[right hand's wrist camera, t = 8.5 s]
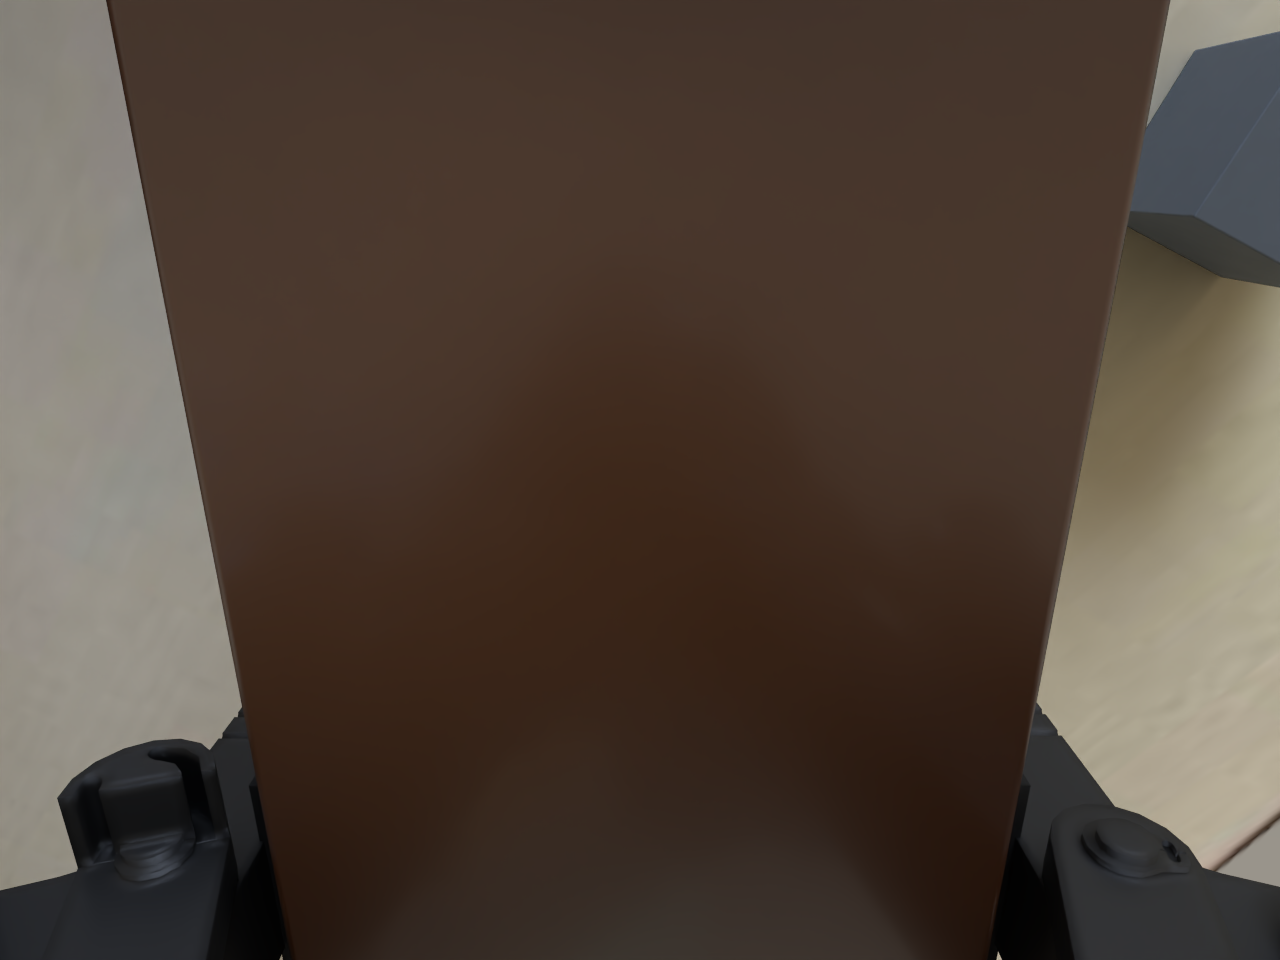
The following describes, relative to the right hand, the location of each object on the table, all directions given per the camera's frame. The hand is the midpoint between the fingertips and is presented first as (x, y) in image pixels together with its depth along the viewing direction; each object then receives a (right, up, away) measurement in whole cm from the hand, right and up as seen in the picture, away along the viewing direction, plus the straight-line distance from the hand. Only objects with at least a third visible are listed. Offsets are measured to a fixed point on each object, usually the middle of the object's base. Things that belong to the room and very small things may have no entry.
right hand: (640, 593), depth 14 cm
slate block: (+18, +12, +12) cm, 24 cm away
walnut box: (0, +9, -3) cm, 9 cm away
